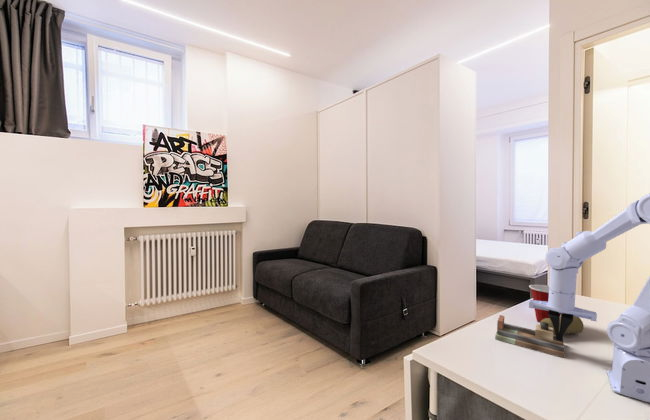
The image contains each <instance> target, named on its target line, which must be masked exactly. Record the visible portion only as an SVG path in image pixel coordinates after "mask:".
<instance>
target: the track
mask: <svg viewBox="0 0 650 420" xmlns="http://www.w3.org/2000/svg"><path fill="white" fill-rule="evenodd" d="M496 325H497V327H496V328H497V329H496V333H495V334H494V335H495V336H494V339H495V340H497V341H500V342H504V343H508V344H512V345H515V346H519V347H521V348H522V347H523V348H525V349H526V348H527V349H530V350H534V351H538V352H540V353H545V354H548V355H552V356H555V357H559V358H563V359H565V341H564V340H565V338H564V336H563V339H562V341H561V340H557V339H556V335H553V343H550V342H546V341H542V340H538V339H535V329H531V328H528V327H527V328H526V327H524V326H519V325H515V324H511V323H506V322H505V315H499V317H498V319H497V324H496Z"/></svg>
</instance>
